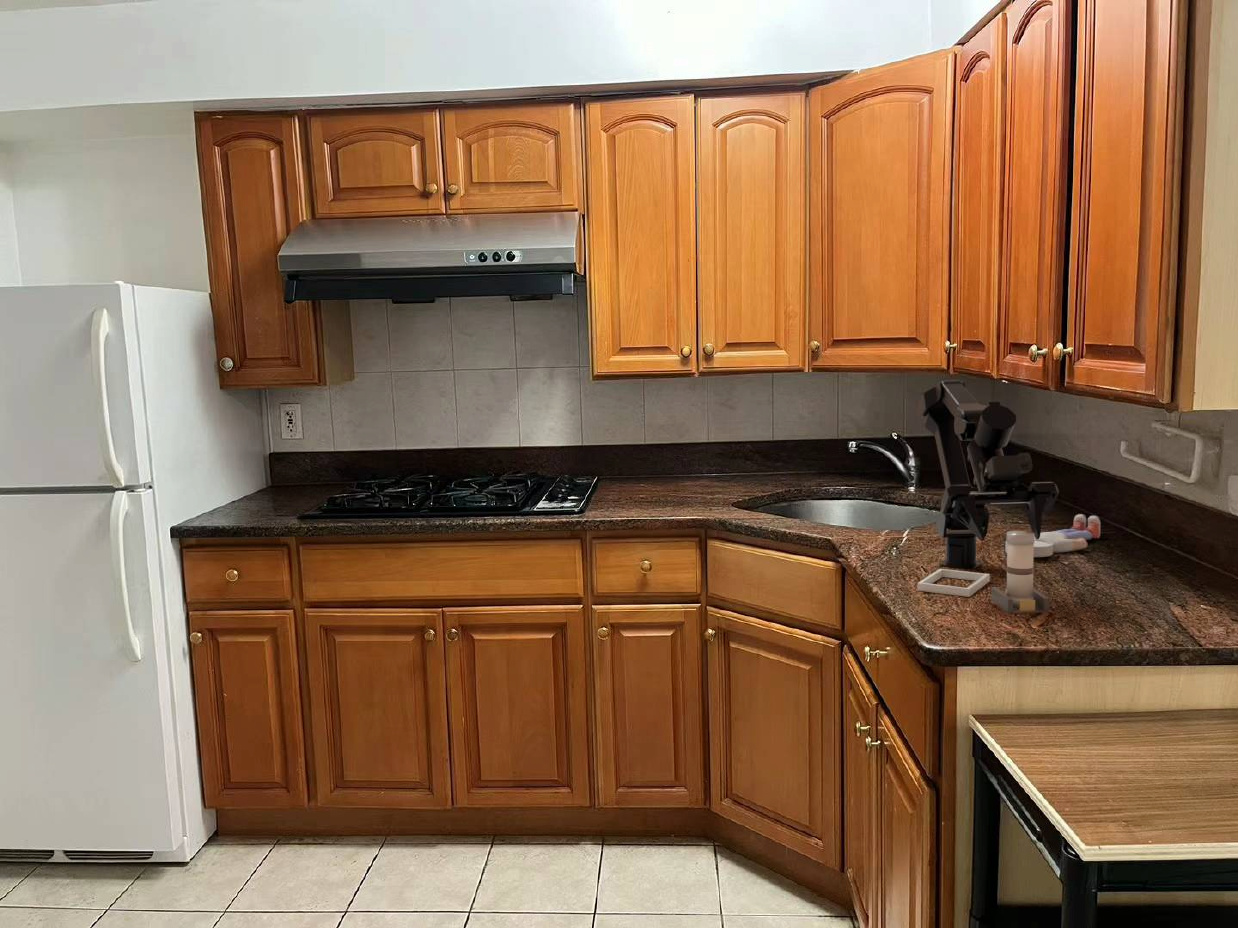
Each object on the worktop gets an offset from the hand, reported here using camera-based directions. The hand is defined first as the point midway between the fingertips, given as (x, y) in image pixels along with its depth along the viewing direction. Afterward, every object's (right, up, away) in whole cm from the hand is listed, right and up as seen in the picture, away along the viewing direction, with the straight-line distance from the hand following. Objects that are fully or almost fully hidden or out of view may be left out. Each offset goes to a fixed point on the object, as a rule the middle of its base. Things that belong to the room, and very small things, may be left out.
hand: (1010, 538), depth 163 cm
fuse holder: (0, -12, -3) cm, 12 cm away
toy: (+26, -6, +42) cm, 49 cm away
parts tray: (-6, -10, +10) cm, 16 cm away
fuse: (0, -11, -3) cm, 11 cm away
